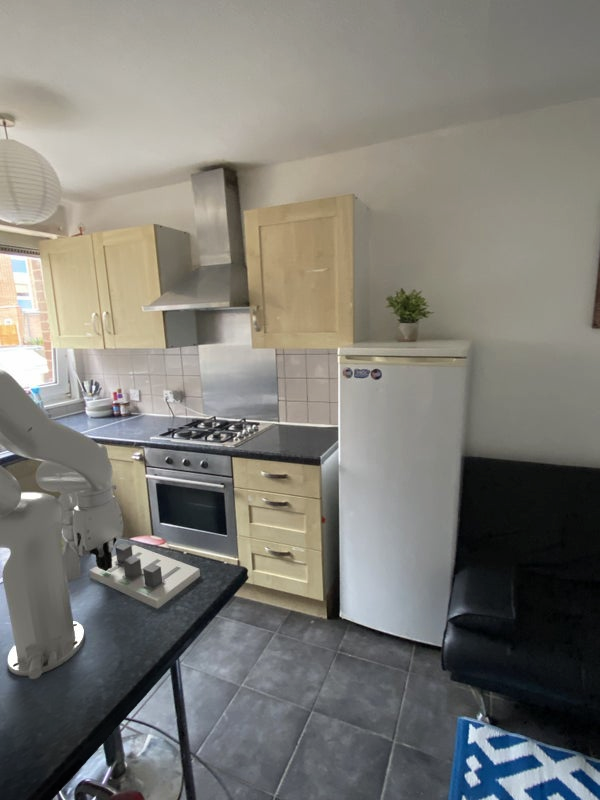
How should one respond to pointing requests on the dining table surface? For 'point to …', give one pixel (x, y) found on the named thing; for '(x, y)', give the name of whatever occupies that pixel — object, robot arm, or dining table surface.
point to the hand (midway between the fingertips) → (105, 567)
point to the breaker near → (152, 576)
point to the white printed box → (70, 560)
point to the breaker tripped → (123, 553)
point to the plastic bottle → (68, 516)
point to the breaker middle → (132, 568)
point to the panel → (171, 570)
